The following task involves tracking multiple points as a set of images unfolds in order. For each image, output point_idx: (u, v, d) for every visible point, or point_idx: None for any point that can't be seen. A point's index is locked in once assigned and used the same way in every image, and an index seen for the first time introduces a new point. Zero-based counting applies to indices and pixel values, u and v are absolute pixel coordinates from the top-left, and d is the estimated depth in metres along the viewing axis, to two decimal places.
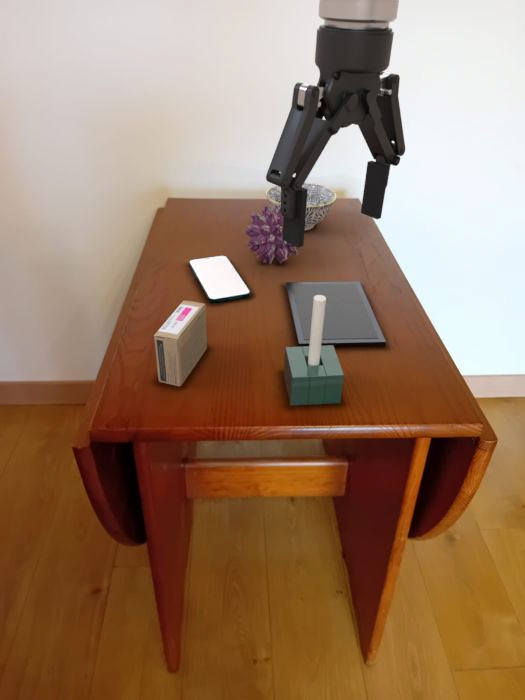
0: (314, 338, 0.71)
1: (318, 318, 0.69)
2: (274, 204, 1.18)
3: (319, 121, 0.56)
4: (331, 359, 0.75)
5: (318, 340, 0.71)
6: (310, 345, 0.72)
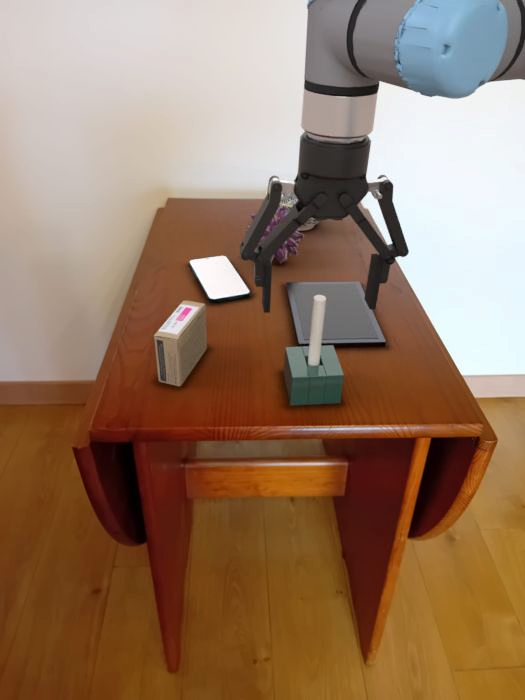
0: (314, 338, 0.71)
1: (318, 318, 0.69)
2: None
3: (294, 210, 0.62)
4: (331, 359, 0.75)
5: (318, 340, 0.71)
6: (310, 345, 0.72)
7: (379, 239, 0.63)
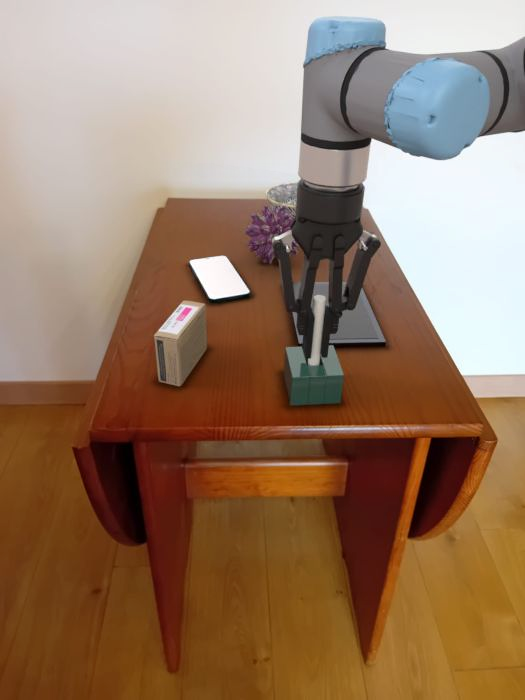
0: (314, 338, 0.71)
1: (318, 318, 0.69)
2: (274, 204, 1.18)
3: (306, 259, 0.65)
4: (331, 359, 0.75)
5: (318, 340, 0.71)
6: None
7: (340, 291, 0.67)
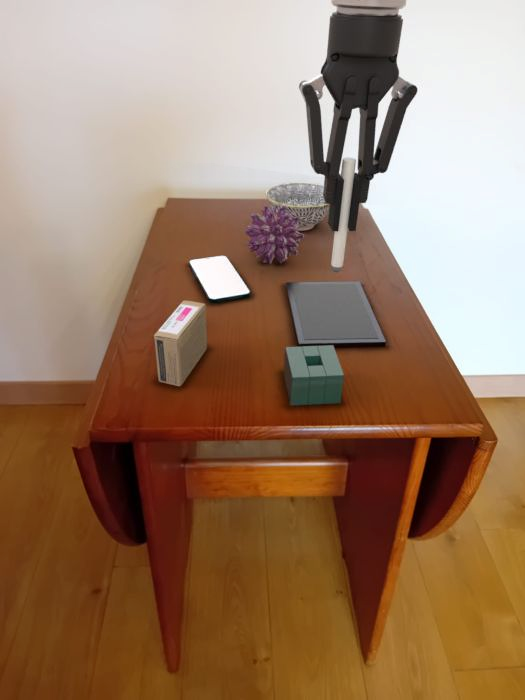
0: (342, 208, 0.67)
1: (347, 183, 0.65)
2: (274, 204, 1.18)
3: (336, 111, 0.61)
4: (331, 359, 0.75)
5: (346, 211, 0.67)
6: None
7: (372, 149, 0.63)
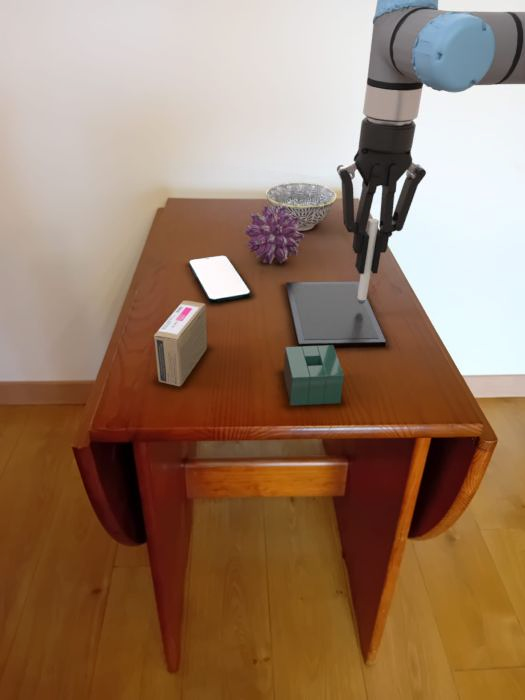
0: (367, 256, 0.87)
1: (371, 238, 0.85)
2: (274, 204, 1.18)
3: (364, 186, 0.81)
4: (331, 359, 0.75)
5: (370, 258, 0.87)
6: None
7: (391, 214, 0.83)
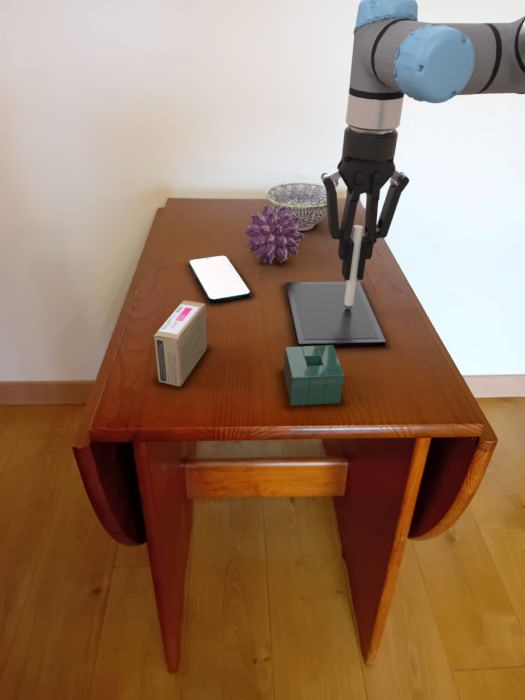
0: (352, 262, 0.87)
1: (356, 244, 0.86)
2: (274, 204, 1.18)
3: (348, 194, 0.82)
4: (331, 359, 0.75)
5: (355, 264, 0.88)
6: None
7: (375, 221, 0.83)
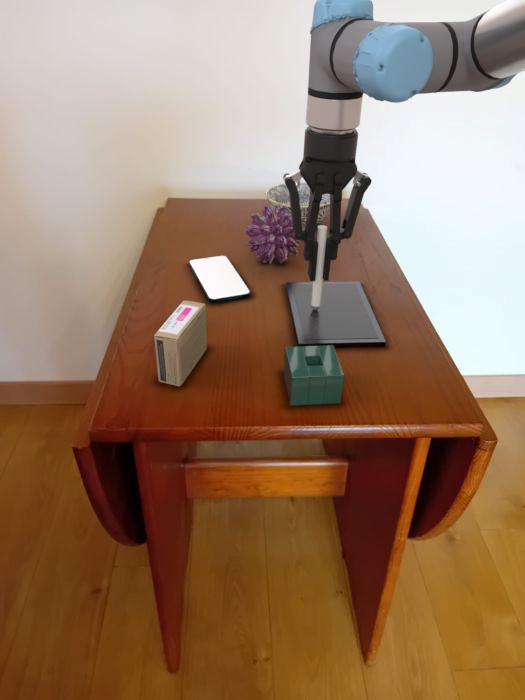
0: (318, 262, 0.87)
1: (321, 244, 0.85)
2: (274, 204, 1.18)
3: (311, 194, 0.81)
4: (331, 359, 0.75)
5: (321, 264, 0.87)
6: None
7: (339, 222, 0.83)
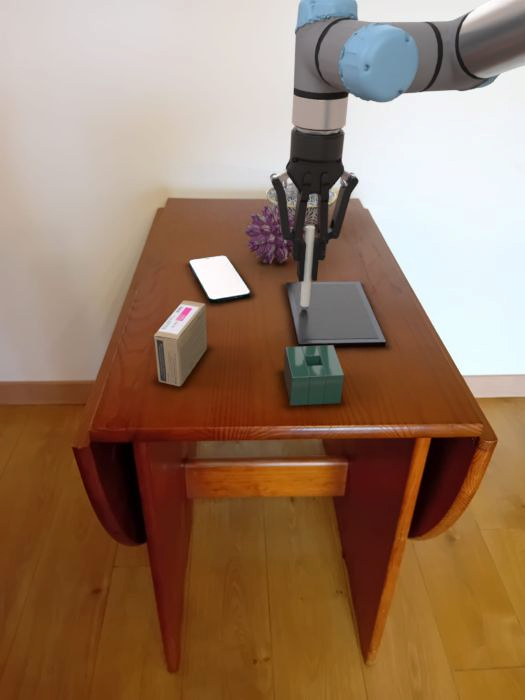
0: (306, 263, 0.87)
1: (309, 244, 0.85)
2: (274, 204, 1.18)
3: (298, 194, 0.81)
4: (331, 359, 0.75)
5: (309, 264, 0.87)
6: None
7: (326, 222, 0.83)
